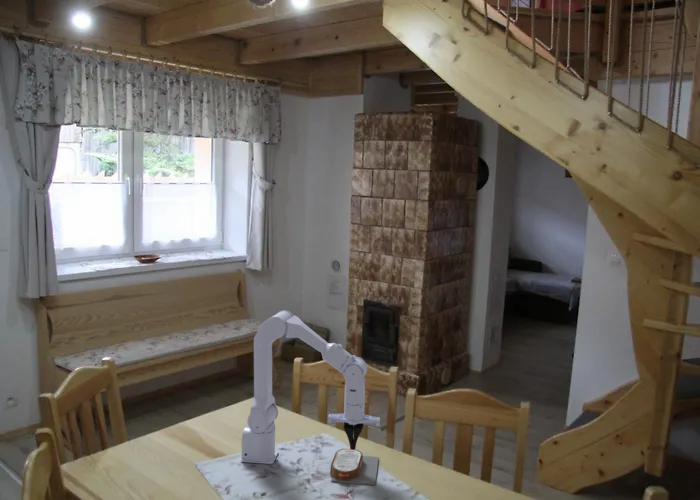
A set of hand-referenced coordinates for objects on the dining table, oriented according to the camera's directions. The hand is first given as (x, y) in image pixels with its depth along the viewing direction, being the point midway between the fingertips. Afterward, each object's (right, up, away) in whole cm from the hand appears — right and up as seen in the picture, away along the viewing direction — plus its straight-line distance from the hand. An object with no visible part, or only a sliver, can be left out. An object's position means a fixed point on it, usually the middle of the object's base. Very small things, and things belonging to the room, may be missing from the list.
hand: (353, 448), depth 170 cm
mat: (+1, -6, +1) cm, 6 cm away
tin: (-6, -4, +1) cm, 7 cm away
